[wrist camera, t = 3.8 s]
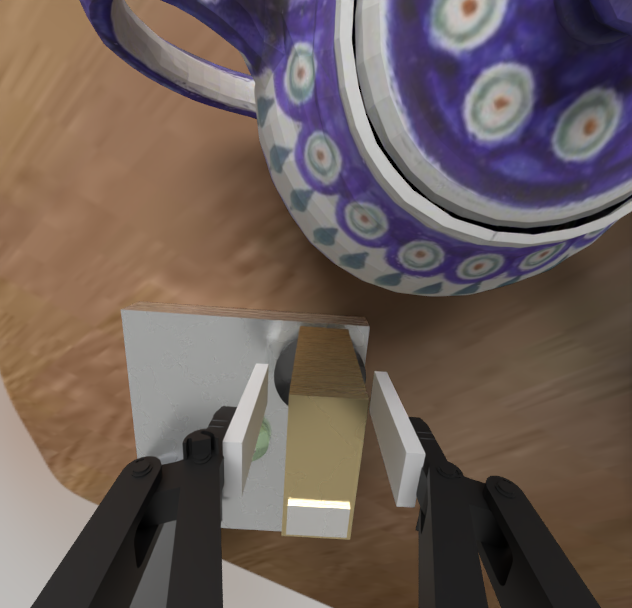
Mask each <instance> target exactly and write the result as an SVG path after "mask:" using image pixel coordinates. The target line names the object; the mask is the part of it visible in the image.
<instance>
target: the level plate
mask: <svg viewBox="0 0 632 608" xmlns="http://www.w3.org/2000/svg"><path fill="white" fill-rule="evenodd" d="M121 315H122V324H123V333H124V342H125V351H126V360H127V369H128V378H129V387H130V396H131V405H132V414H133V423H134V432H135V441H136V450H137V459H138V458H141V457H146V456H153V457H157V458H158V459H160V461H161V464H165V463H173V462H177V461H180V460H183V444H182V443H183V441H184V438H185V437H186V436H187V435H188V434H190V433H192V432H194V431H196V430H200V429H207V427H208V425H209V423H210V421H211V420H212V418H213V416H214V414H215V412H216V411H217V410H219V409H220V408H221V407H222V406H231V407H238V404H239V402H240V400H241V397H242V395H243V393H244V390H245V388H246V386H247V384H248V381H249V379H250V377H251V374H252V372H253V370H254V367H255V365H256V363H258V364H269V369H268V401H267V407H266V410H265V414H264V418H263V421H262V425H261V429H260V432H259V436H258V440H257V443H256V447H255V451H254V455H253V458H252V462H251V466H250V469H249V473H248V477H247V480H246V484H245V488H244V491H243V495H242V498H240V497H223V490H222V522H221V528H231V529H249V530H267V531H282V515H283V497H284V478H285V460H286V441H287V422H288V406H287V405H286V404H285V403H284V402H283V401H282V399H281V398H280V396H279V394H278V392H277V390H276V387H275V383H274V369H275V366H276V362H277V359H278V357H279V355H280V353H281V352H282V350H283V349H284V348H285V347H286V346H287V345H288V344H289V343H290V342H291V341H293V340H294V339H296V338H298V335H299V329H300V326H307V327H321V328H336V329H348V331H349V334H350V337H351V341H352V344H353V346H354V347H355V348H356V349H357V351H358V352H359V354H360V356H361V358H362V360H363V363H364V367H365V360H366V353H367V345H368V337H369V329H370V326H369V324H368V322H367V320H366V318H365V317H357V316H343V315H329V314H314V313H300V312H285V311H271V310H256V309H242V308H227V307H213V306H198V305H184V304H170V303H155V302H141V301H139V302H137V303H134V304H132V305H130V306H128V307H125V308H123V309H121Z"/></svg>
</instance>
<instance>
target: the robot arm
mask: <svg viewBox="0 0 632 608" xmlns="http://www.w3.org/2000/svg"><path fill="white" fill-rule="evenodd" d="M268 369H269V364H258V363H256V365H255V367H254V370H253V372H252V374H251V377H250V379H249V381H248V384H247V386H246V388H245V390H244V393H243V395H242V397H241V400H240V402H239V404H238V407H231V406H222V407H221V408H220V409H219V410H217V411H216V412H215V414H214V416H213V418H212V420H211V421H210V423H209V425H208V427H207V429H200V430H196V431H194V432H192V433H190V434H188V435H187V436H186V437H185V438H184V441H183V443H182V444H183V460H180V461H177V462H173V463H168V464H163V465H162V464H161V461H160V459H158V458H157V457H153V456H146V457H141V458H138V459H136V460H134V461H132V462H131V463H129V464H128V465H127V466H126V467H125V468H124V469H123V470H122V472H121V473H120V475H119V476H118V478H117V479H116V481H115V482H114V484H113V485H112V487H111V488H110V490H109V491H108V493H107V494H106V496H105V497H104V499H103V500H102V502H101V503H100V505H99V506H98V508H97V509H96V511H95V512H94V514H93V515H92V517H91V518H90V520H89V521H88V523H87V524H86V526H85V527H84V529H83V531H82V532H81V533H80V535H79V536H78V538H77V539H76V541H75V542H74V544H73V545H72V547H71V548H70V550H69V551H68V553H67V554H66V556H65V557H64V559H63V560H62V562H61V563H60V565H59V566H58V568H57V569H56V571H55V572H54V574H53V575H52V577H51V578H50V580H49V581H48V583H47V584H46V586H45V587H44V588H43V590H42V591H41V593H40V595H39V596H38V598H37V599H36V601H35V602H34V604H33V605H32V606H31V608H130V605H131V603H132V600H133V598H134V596H135V593H136V591H137V588H138V586H139V583H140V581H141V579H142V576H143V574H144V571H145V569H146V566H147V564H148V562H149V559H150V557H151V554H152V552H153V550H154V547H155V545H156V542H157V540H158V537H159V535H160V533H161V530H162V528H163V525H164V523H167V522H171V521H175V520H176V528H175V537H174V545H173V553H172V562H171V570H170V579H169V587H168V596H167V604H166V608H223V594H222V593H223V592H222V553H221V515H220V495H221V492H222V490H223V497H240V498H242V495H243V491H244V488H245V484H246V480H247V477H248V473H249V469H250V466H251V462H252V458H253V455H254V451H255V447H256V443H257V440H258V436H259V432H260V429H261V425H262V421H263V418H264V414H265V410H266V407H267V401H268ZM369 411H370V415H371V418H372V422H373V425H374V429H375V432H376V436H377V440H378V443H379V447H380V450H381V454H382V457H383V461H384V464H385V468H386V471H387V475H388V478H389V482H390V485H391V489H392V493H393V496H394V500H395V503H396V507H415V502H416V497H417V499H418V502H419V504H420V512H419V517H418V521H417V526H416V530H417V531H419V608H488V604H487V598H486V593H485V587H484V582H483V577H482V571H481V566H480V560H479V555H480V557H481V560H482V562H483V565H484V567H485V570H486V572H487V574H488V577H489V579H490V582H491V584H492V587H493V589H494V591H495V594H496V596H497V599H498V601H499V603H500V606H501V608H601V607H600V606H599V604H598V603H597V601H596V600H595V598H594V597H593V595H592V594H591V592H590V591H589V589H588V588H587V586H586V585H585V583H584V582H583V580H582V579H581V577H580V576H579V574H578V573H577V571H576V570H575V568H574V567H573V565H572V564H571V563H570V561H569V560H568V558H567V557H566V555H565V554H564V552H563V551H562V549H561V548H560V546H559V545H558V543H557V542H556V540H555V539H554V537H553V536H552V534H551V533H550V531H549V530H548V528H547V527H546V525H545V524H544V522H543V521H542V519H541V518H540V517H539V515H538V514H537V512H536V511H535V509H534V508H533V506H532V505H531V503H530V502H529V500H528V499H527V497H526V496H525V494H524V493H523V492H522V490H521V489H520V488H519V487H518V486H517V485H515V484H514V483H513V482H511V481H509V480H507V479H505V478H503V477H499V476H490V477H488V478H487V480H486V483H482V482H479V481H475V480H472V479H469V478H467V477H464V476H463V473H462V472H461V470H460V469H459V468H458V467H457V466H455V465H454V464H452V463H451V462H448V461H447V459H446V457H445V456H444V454H443V452H442V450H441V448H440V447H439V445H438V443H437V441H436V440H435V437H434V436H433V434H432V432H431V430H430V428H429V427H428V425H427V424H426V423H425V422H424V421H423V420H422V419H421V418H416V417H408V416H407V414H406V411H405V409H404V407H403V405H402V403H401V401H400V399H399V397H398V395H397V392H396V390H395V388H394V386H393V384H392V382H391V380H390V378H389V376H388V374H387V372H380V371H374V378H373V385H372V392H371V400H370V407H369ZM478 553H479V555H478Z"/></svg>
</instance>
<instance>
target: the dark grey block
mask: <svg viewBox="0 0 632 608" xmlns="http://www.w3.org/2000/svg"><path fill="white" fill-rule="evenodd" d="M165 464H168V463H165ZM162 465H163V464H162ZM220 515H221V522H222V492H221V495H220ZM175 528H176V520H175V521H171V522H167V523H164V525H163V528H162V530H161V533H160V535H159V537H158V540H157V542H156V545H155V547H154V550H153V552H152V554H151V557H150V559H149V562H148V564H147V566H146V569H145V571H144V574H143V576H142V579H141V581H140V583H139V586H138V588H137V591H136V593H135V596H134V598H133V600H132V603H131V605H130V608H166V604H167V596H168V587H169V579H170V570H171V562H172V553H173V545H174V537H175Z"/></svg>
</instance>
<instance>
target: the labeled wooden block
mask: <svg viewBox="0 0 632 608" xmlns="http://www.w3.org/2000/svg"><path fill="white" fill-rule="evenodd" d="M365 381H366V372H365V367H364V363H363V360H362V358H361V356H360V354H359V352H358V351H357V349H356V348H355V347H354V346H353V344H352V341H351V337H350V334H349V331H348V329H336V328H321V327H307V326H300V329H299V335H298V338H296V339H294V340H293V341H291V342H290V343H289V344H288V345H287V346H286V347H285V348H284V349H283V350H282V352H281V353H280V355H279V357H278V359H277V362H276V366H275V369H274V383H275V387H276V390H277V392H278V394H279V396H280V398H281V399H282V401H283V402H284V403H285V404H286V405H287V406H288V422H287V441H286V460H285V478H284V497H283V515H282V534H281V536H294V537H312V538H330V539H348V540H350V536H351V529H352V521H353V514H354V507H355V500H356V492H357V485H358V478H359V471H360V463H361V456H362V449H363V442H364V434H365V427H366V420H367V413H368V405H369V397H368V394H367V391H366V387H365Z"/></svg>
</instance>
